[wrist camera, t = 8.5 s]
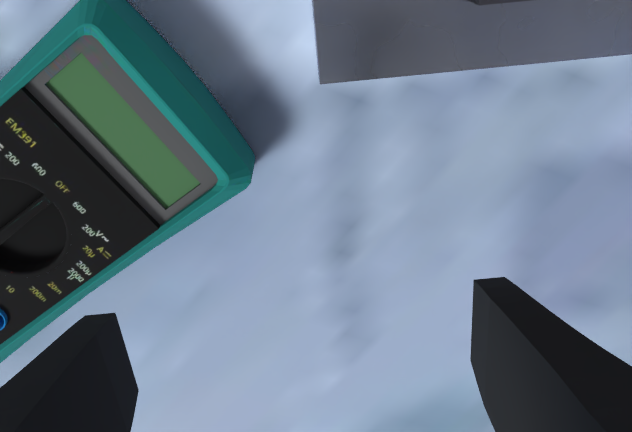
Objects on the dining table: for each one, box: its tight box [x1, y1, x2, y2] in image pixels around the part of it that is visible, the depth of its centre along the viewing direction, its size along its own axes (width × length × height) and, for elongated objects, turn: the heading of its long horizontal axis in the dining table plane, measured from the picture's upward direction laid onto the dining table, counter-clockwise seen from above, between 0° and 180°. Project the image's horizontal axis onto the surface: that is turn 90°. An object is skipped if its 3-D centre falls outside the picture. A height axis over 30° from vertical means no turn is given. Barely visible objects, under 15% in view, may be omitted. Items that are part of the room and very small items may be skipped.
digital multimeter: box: [0, 0, 255, 363], centre depth 20 cm, size 7×15×3 cm, turn 127°
